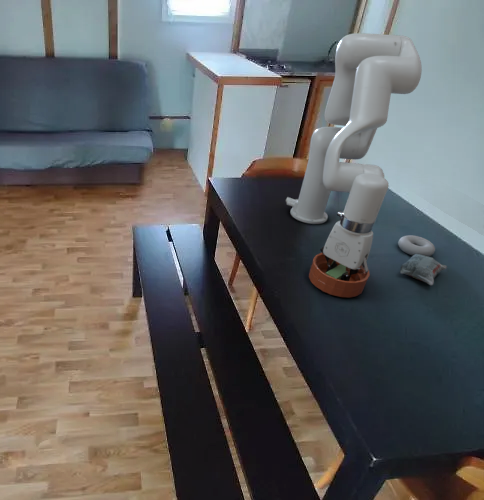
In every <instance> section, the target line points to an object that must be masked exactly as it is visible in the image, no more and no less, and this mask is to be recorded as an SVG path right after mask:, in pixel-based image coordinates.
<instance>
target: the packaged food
mask: <svg viewBox="0 0 484 500" xmlns="http://www.w3.org/2000/svg"><path fill="white" fill-rule="evenodd" d="M447 268H448V265H445V264H441V263H440V262H439V261H437V260H436V259H435V258H434V257H432V256H429V257H427V256H423V255H420V254H415V255H413V256H412V255H411V257H410V258H409V259H408V260H407V261H405V262H404V263H402V265H401V266H400V271H399V272H400V275H404V274H405V275H407V276H408V277H411V278H414V279H415V280H419V281H420V282H423V283H426V284H427V285H429V286H434V282H435V278H436V277H437V275H438V274H439V273H441V272H442V271H444V270H446V269H447Z"/></svg>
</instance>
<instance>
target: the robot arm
mask: <svg viewBox="0 0 484 500" xmlns="http://www.w3.org/2000/svg"><path fill="white" fill-rule="evenodd" d="M334 65H335V66H334V69H335V74H334V79H333V82H332V86H331V88H330V89H331V90H330V92H329V95H328V99H327V101H326V102H327V103H326V106H325V109H324V116H323V117H324V120H325V122H326V123H327V124H330V125H334V126H322V127H319V128H316V129H315V130H313V133H312V135H311V137H310V145H309V155H308V161H307V165H306V169H305V171H304V177H303V180H302V184H301V188H300V192H299V195H298V198H295V199H294V198H291V197H289V196H287V197H286V199H285V203H286V205H287V206H289V207H292V208H290V212H289V213H290V216H291V217H292V218H293V219H295V220H297V221H299V222H302V223H305V224H310V225H311V224H312V225H321V224H324V223H326V222H327V221H328V218H329V216H328V213H327V212H326V209H327V205H328V202H329V199H330V196H331V192H337V193H349V194H348V196H347V200H346V203H345V206H344V209H343V211H341V210H339V211H338V212H337V213H336V216H338V217H339V220H338V221H336V222H335V224H334V225H333V226H332V228H331V230H330V232H329V235H328V237H327V239H326V241H325V243H324V245H323V246H322V247H321V248H320V250H319V251H320V253H323V255H325V258H326V260H327V265H328V268H327V271H326V272H328V271H330V270H331V269H333V268H335V267H337V264H336V262H338V263H340V264H342V265H344V266H346V270H345V273H344V274H342V276H341V279H340V280H343V281H349V280H350V277H351V275H353V274H357V273H359V274H365V273H367V272H368V270H369V266H368V262H367V261H368V259H369V256H370V253H371V248H372V246H373V239H374V232H373V231H372V230H373V228H374V226H375V223H376V222H377V221H376V220H377V219H378V216H379V213H380V210H381V207H382V206H383V203H384V200H385V197H386V194H387V192H388V190H389V187H390V186H389V181H388V180H387V179H386V178H385V172H384V171H383V169H382V167H381V166H379V165H376V164H368V163H358V162H346V161H340V159H342V160H343V159H344V160H361V159H363V158H364V157H365V156H366V155H367V154H368V152H369V150H370V147H371V145H372V143H373V140H374V137H375V135H376V133H377V130H378V129H379V128H381V127H383V126H384V125H386V123H387V122H388V117H389V109H390V103H391V102H390V101H391V95H392V94H395V95H397V94H398V95H409V94H411V93H413V92H414V91H415V90H416V89H417V87H418V86H419V84H420V81H421V77H422V71H423V70H422V61H421V57H420V55H419V51H418V50H417V48H416V46H415V44H414V41H413V40H412V39H411V38H410V37H408V36H406V35H401V34H399V35H398V34H382V33H367V32H363V33H362V32H360V33H359V32H356V33H350V34H346V35H344V36H343V37H342V38H341V39H340V40H339V42H338V44H337V47H336V50H335V57H334ZM339 126H340V127H339ZM341 126H343V127H341ZM359 267H360V268H359Z"/></svg>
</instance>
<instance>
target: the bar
mask: <svg viewBox="0 0 484 500" xmlns="http://www.w3.org/2000/svg"><path fill="white" fill-rule="evenodd" d="M345 270H346V266H344V265H342V264H340V265H338V266H337V267H335V268H333V269H331V270H330V271H328V272H326V273H325V274H327V275H328V276H331V277H333V278H336V279H339V280H340V279H341V276H342V274H344V273H345Z"/></svg>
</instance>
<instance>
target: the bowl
mask: <svg viewBox="0 0 484 500" xmlns="http://www.w3.org/2000/svg"><path fill="white" fill-rule="evenodd" d="M336 264H337V266H338V265H340V263H338V262H336ZM327 268H328V265H327V260H326V258H325V255H323V253H322V252H320V253H318V254H316V255H314V257H313V259H312V261H311V265H310V268H309V271H308V279H309V281H310V282H311V284H312V285H314V286H315V287H316V288H317V289H318V290H320V291H321V292H323V293H325V294H328V295H331V296H334V297H339V298H354V297H357V296H359V295H361V294H363V291H364V290H365V288H366V286H367V283H368V280H369V278H370V277H371V274H370V269H368V272H367V273H365V274H359V273H357V274H353V275H351V277H350V280H349V281H343V280H339V279H336V278H333V277H331V276H328V275H327V274H325V273H326V271H327ZM359 268H360V267H359Z"/></svg>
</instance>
